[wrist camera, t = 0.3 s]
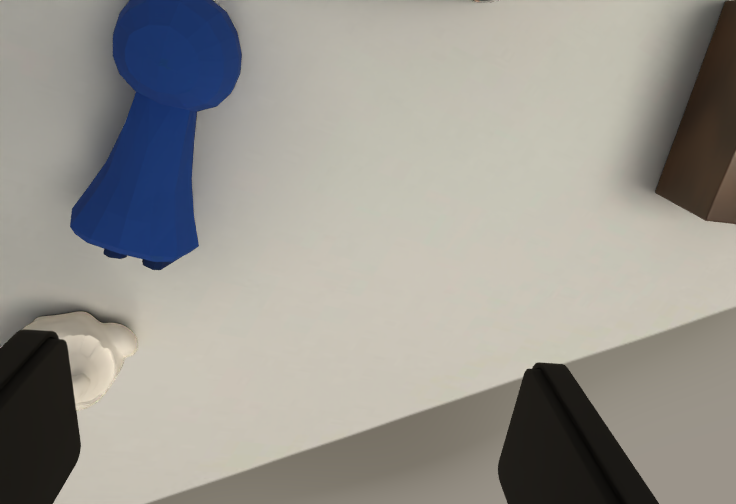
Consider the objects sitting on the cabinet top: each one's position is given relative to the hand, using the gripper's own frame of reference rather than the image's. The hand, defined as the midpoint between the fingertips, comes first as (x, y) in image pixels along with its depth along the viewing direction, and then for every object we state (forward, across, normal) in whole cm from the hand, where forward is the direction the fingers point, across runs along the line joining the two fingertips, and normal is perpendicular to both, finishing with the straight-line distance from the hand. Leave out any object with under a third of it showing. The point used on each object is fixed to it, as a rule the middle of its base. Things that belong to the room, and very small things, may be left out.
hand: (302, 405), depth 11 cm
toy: (+22, +9, -1) cm, 24 cm away
